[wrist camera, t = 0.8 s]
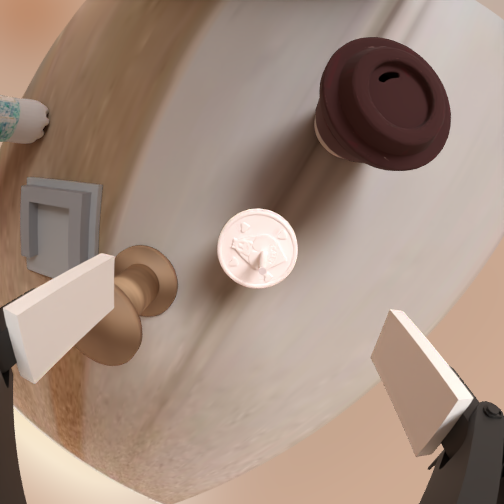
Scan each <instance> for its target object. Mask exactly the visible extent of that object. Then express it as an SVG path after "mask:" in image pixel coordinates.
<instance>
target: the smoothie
mask: <svg viewBox="0 0 504 504" xmlns="http://www.w3.org/2000/svg"><path fill="white" fill-rule="evenodd" d="M217 254H218V259H219V262H220V265H221V267H222V268H223V270H224V272H225V273H226V274H227V275H228V276H229V277H230V278H231V279H232V280H233V281H235V282H236V283H238V284H240V285H242V286H245V287H249V288H256V289H261V288H267V287H271V286H273V285H276V284H278V283H279V282H281V281H282V280H284V279H285V278H286V277H287V276H288V275H289V273H290V272H291V271H292V269H293V267H294V265H295V263H296V259H297V254H298V246H297V239H296V236H295V233H294V230H293V229H292V227H291V226H290V224H289V223H288V222H287V221H286V220H285V219H284V218H283V217H282V216H280V215H279V214H277V213H275V212H273V211H270V210H266V209H260V208H258V209H248V210H245V211H242V212H240V213H238V214H236V215H235V216H234V217H232V218H231V219H230V220H229V221H228V222H227V223H226V225H225V226H224V227H223V229H222V232H221V234H220V236H219V239H218V245H217Z"/></svg>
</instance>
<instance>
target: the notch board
mask: <svg viewBox="0 0 504 504" xmlns="http://www.w3.org/2000/svg"><path fill="white" fill-rule="evenodd" d="M102 188H103V185H101V184H93V183H85V182H76V181H68V180H58V179H49V178H39V177H27V185H24V186H21V209H20V232H21V255H22V256H25V257H26V259H27V269H29V270H32V271H34V272H37V273H40V274H43V275H45V276H48V277H51V278H55V277H57V276H59V275H61V274H63V273H64V272H66V271H68V270H70V269H72V268H74V267H76V266H77V265H79V264H81V263H83V262H85V261H87V260H89V259H91V258H93V257H95V256H97V255H98V247H99V225H100V210H101V198H102Z"/></svg>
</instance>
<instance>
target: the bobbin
mask: <svg viewBox="0 0 504 504" xmlns="http://www.w3.org/2000/svg"><path fill="white" fill-rule="evenodd" d="M177 289H178V282H177V276H176V273H175V270H174V268H173V266H172V264H171V263H170V261H169V260H168V259H167V258H166V257H165V256H164V255H163V254H162V253H161V252H159V251H158V250H156V249H154V248H152V247H149V246H144V245H136V246H132V247H129V248H127V249H125V250H123V251H122V252H120V253H119V254H118V255H117V256H116V258H115V260H114V309H112V310H111V311H110V312H109V313H108V314H107V315H106V316H105V317H104V318H103V319H102V320H101V321H99V322H98V323H97V324H96V325H95V326H94V327H93V328H92V329H91V330H90V331H89V332H88V333H87V334H86V335H85V336H83V337H82V338H81V339H80V340H79V341H78V342H77V343H76V344H75V346H76V348H77V349H78V350H79V351H81V352H82V353H83V354H84V355H86V356H87V357H88V358H90V359H92V360H94V361H96V362H98V363H101V364H104V365H109V366H117V365H122V364H124V363H126V362H128V361H129V360H130V359H131V358H132V357H133V356H134V354H135V353H136V352H137V350H138V349H139V347H140V344H141V341H142V325H141V321H140V318H139V315H141V316H156V315H159V314H161V313H163V312H164V311H165V310H167V309H168V308H169V306H170V305H171V304H172V302H173V301H174V299H175V297H176V294H177Z"/></svg>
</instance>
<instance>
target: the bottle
mask: <svg viewBox="0 0 504 504" xmlns="http://www.w3.org/2000/svg"><path fill="white" fill-rule="evenodd" d="M48 112H49V111H48V108H47V107H46V106H45V105H43V104H42V103H41V102H39V101H37V100H31V99H21V98H14V97H8V96H3V95H0V142H14V143H23V144H28V143H32V142H34V141H35V140H36V139H39V138H41V137H42V136H43V135H44V131H43V128H44V127H45V126H46V125H48V124H49V119H48V118H47V117H46V115H47V114H48Z"/></svg>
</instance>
